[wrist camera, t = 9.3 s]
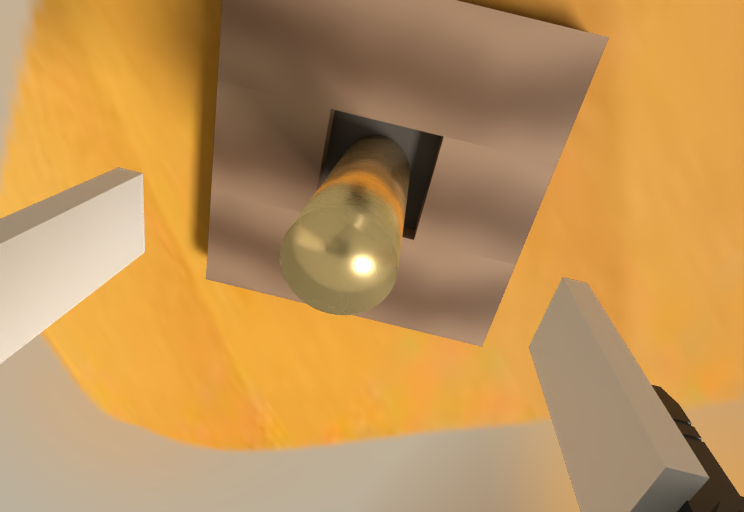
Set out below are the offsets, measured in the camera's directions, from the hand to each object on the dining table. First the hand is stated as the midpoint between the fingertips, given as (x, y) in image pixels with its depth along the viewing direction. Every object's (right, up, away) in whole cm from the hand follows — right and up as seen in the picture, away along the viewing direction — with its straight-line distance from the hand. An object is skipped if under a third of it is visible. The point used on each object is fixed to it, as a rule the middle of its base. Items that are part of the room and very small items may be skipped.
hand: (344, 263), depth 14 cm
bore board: (+1, +5, +12) cm, 13 cm away
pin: (+1, +5, +12) cm, 13 cm away
